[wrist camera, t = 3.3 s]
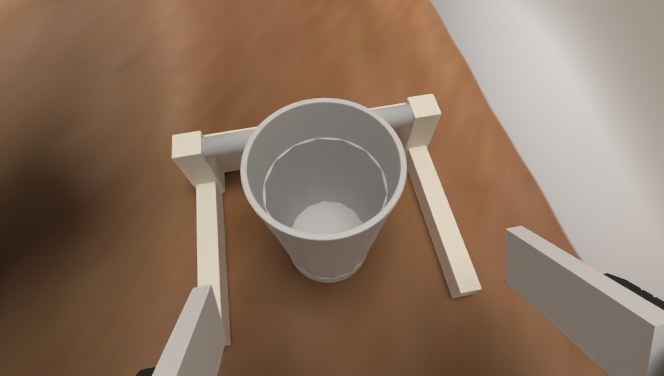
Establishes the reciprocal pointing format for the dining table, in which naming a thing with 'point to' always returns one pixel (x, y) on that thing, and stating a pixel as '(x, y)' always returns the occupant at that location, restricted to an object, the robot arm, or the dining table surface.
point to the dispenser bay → (225, 156)
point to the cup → (324, 182)
